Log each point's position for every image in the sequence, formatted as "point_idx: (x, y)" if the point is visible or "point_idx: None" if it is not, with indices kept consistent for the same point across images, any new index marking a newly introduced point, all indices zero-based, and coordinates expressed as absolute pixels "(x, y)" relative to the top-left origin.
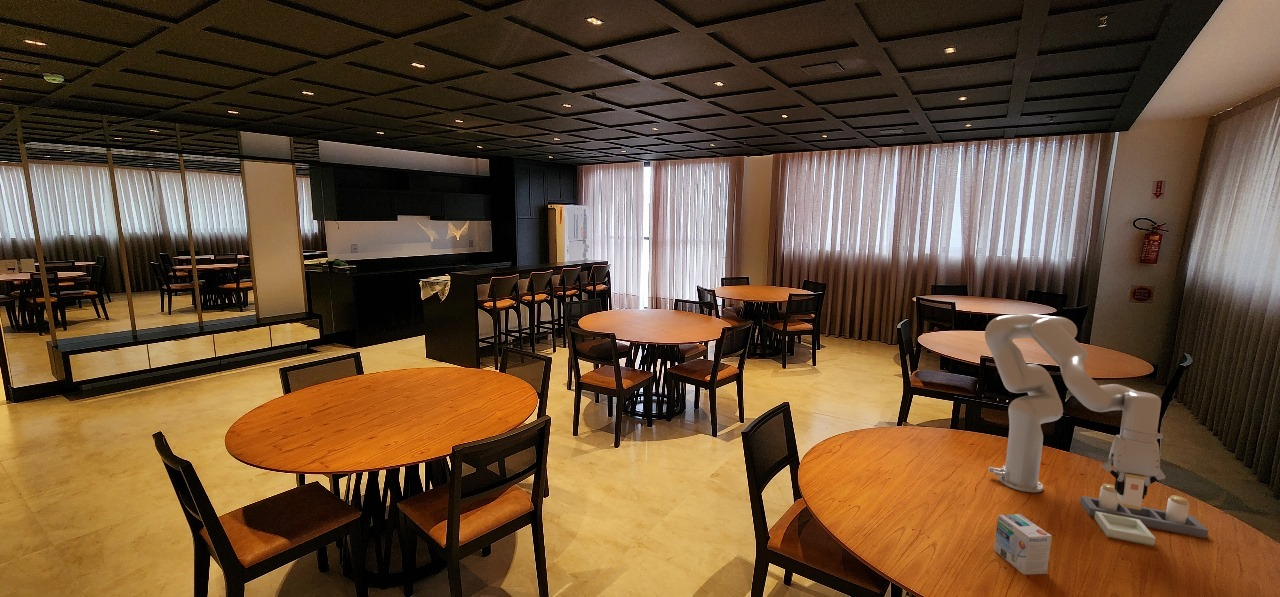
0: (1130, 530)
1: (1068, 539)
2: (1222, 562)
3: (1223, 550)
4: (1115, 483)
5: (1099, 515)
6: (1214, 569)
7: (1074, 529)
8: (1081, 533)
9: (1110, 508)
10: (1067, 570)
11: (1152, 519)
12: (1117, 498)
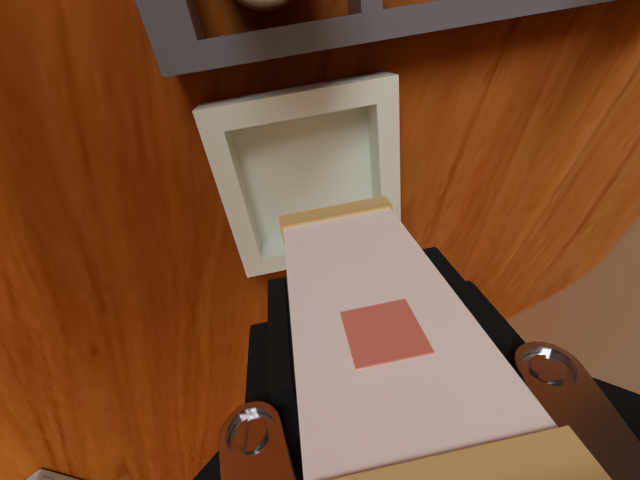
0: (338, 157)
1: (139, 349)
2: (558, 207)
3: (633, 96)
4: (250, 371)
5: (214, 160)
6: (503, 268)
7: (142, 272)
8: (168, 287)
9: (271, 4)
10: (166, 465)
11: (470, 19)
12: (282, 236)
